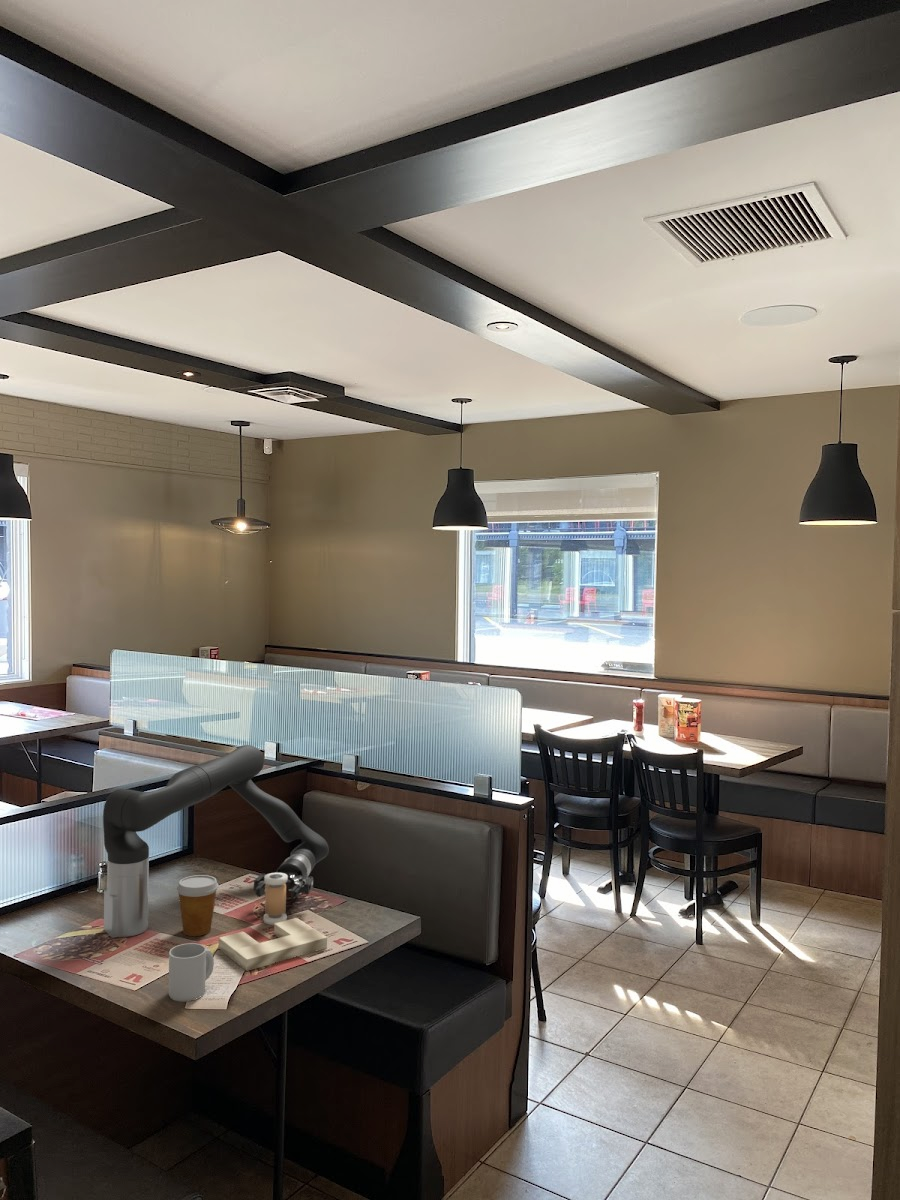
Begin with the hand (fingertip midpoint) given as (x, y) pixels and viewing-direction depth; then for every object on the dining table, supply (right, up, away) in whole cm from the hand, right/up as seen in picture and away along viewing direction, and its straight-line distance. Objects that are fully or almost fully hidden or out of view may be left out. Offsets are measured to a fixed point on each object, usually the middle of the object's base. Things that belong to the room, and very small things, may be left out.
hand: (275, 894), depth 222 cm
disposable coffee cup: (-17, -7, -7) cm, 20 cm away
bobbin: (0, -7, 0) cm, 7 cm away
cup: (-10, -8, -37) cm, 39 cm away
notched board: (+2, -7, -16) cm, 17 cm away
